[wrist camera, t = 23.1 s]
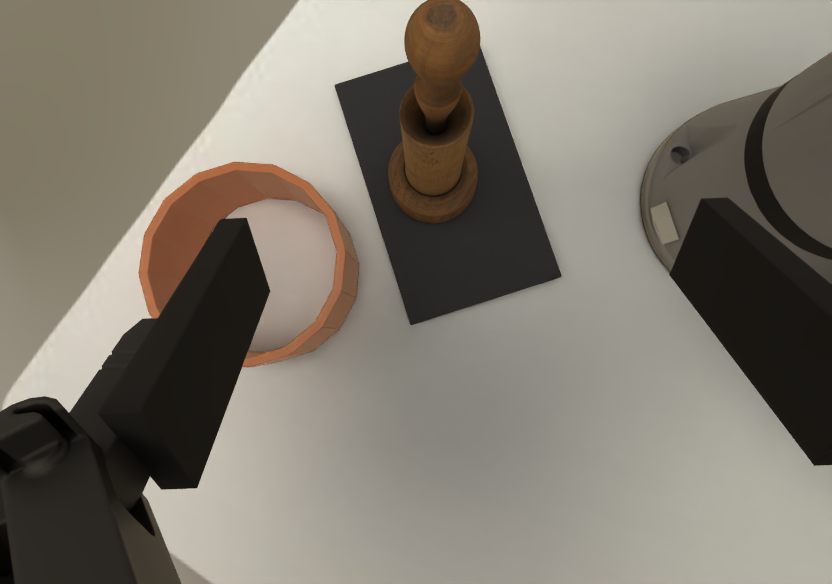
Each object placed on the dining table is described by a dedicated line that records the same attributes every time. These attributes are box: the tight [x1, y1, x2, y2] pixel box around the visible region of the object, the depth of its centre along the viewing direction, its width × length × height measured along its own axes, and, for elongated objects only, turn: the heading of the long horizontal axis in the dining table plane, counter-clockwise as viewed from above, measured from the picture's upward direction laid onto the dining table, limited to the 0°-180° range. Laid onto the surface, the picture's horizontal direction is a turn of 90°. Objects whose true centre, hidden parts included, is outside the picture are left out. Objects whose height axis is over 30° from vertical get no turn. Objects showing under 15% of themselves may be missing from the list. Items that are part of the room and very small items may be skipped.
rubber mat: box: [335, 48, 561, 325], centre depth 34 cm, size 12×20×1 cm, turn 18°
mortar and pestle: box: [388, 0, 480, 224], centre depth 25 cm, size 7×6×18 cm
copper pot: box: [139, 162, 359, 367], centre depth 31 cm, size 13×13×6 cm
